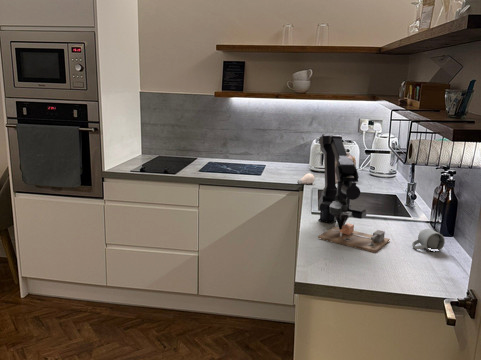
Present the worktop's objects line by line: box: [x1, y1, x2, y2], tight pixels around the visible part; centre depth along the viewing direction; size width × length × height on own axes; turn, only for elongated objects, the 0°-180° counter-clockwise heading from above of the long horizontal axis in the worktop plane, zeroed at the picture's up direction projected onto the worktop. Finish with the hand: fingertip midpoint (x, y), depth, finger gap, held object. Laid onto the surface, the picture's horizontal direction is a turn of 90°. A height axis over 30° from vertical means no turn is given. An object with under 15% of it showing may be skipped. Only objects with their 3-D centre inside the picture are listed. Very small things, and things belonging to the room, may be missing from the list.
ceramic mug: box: [411, 228, 446, 252], centre depth 186 cm, size 11×8×8 cm
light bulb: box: [297, 172, 316, 185], centre depth 286 cm, size 7×7×11 cm
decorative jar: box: [335, 151, 357, 184], centre depth 294 cm, size 12×12×18 cm
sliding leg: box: [340, 222, 355, 237], centre depth 196 cm, size 3×10×3 cm, turn 145°
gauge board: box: [317, 225, 391, 253], centre depth 194 cm, size 24×16×4 cm, turn 55°
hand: (340, 229), depth 200 cm, fingers closed
